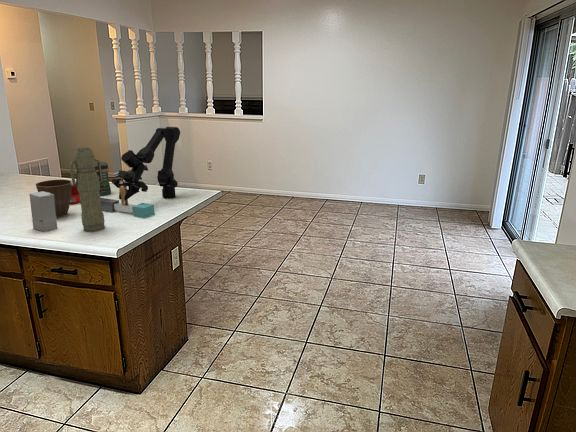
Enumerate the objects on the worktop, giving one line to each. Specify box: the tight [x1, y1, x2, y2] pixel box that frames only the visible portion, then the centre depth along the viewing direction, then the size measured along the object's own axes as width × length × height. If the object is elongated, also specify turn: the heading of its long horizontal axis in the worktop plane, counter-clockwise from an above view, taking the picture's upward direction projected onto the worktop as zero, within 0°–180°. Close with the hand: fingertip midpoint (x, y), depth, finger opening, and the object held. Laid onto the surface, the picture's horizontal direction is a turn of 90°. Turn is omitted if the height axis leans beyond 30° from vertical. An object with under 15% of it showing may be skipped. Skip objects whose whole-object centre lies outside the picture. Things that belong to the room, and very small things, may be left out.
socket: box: [132, 202, 156, 219], centre depth 203 cm, size 7×7×5 cm
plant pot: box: [35, 179, 72, 218], centre depth 201 cm, size 15×15×16 cm
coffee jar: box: [95, 161, 112, 197], centre depth 239 cm, size 10×8×19 cm
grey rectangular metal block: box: [100, 197, 120, 213], centre depth 212 cm, size 14×5×5 cm, turn 67°
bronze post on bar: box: [112, 185, 136, 214], centre depth 207 cm, size 22×3×13 cm, turn 67°
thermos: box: [69, 147, 106, 233], centre depth 180 cm, size 9×12×35 cm
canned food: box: [69, 180, 81, 206], centre depth 223 cm, size 8×8×11 cm
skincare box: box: [29, 191, 58, 232], centre depth 182 cm, size 8×7×16 cm
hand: (122, 199), depth 205 cm, fingers closed on bronze post on bar, 3 cm apart
